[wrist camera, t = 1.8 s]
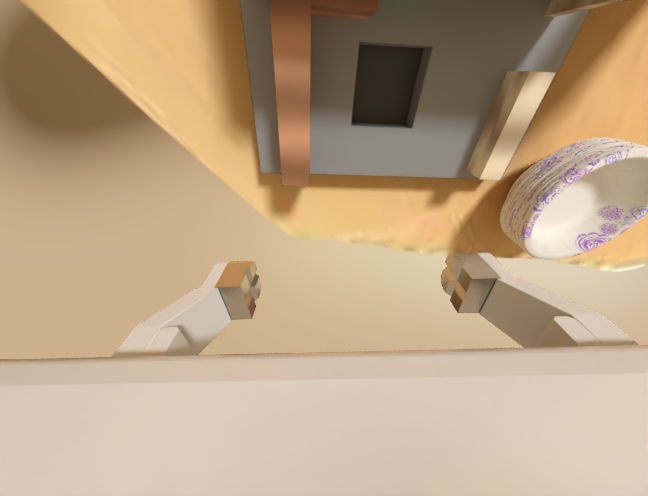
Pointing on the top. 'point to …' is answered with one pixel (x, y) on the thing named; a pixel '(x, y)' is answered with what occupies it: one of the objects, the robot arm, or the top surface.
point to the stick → (508, 122)
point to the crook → (300, 74)
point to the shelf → (575, 6)
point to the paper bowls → (577, 198)
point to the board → (405, 81)
